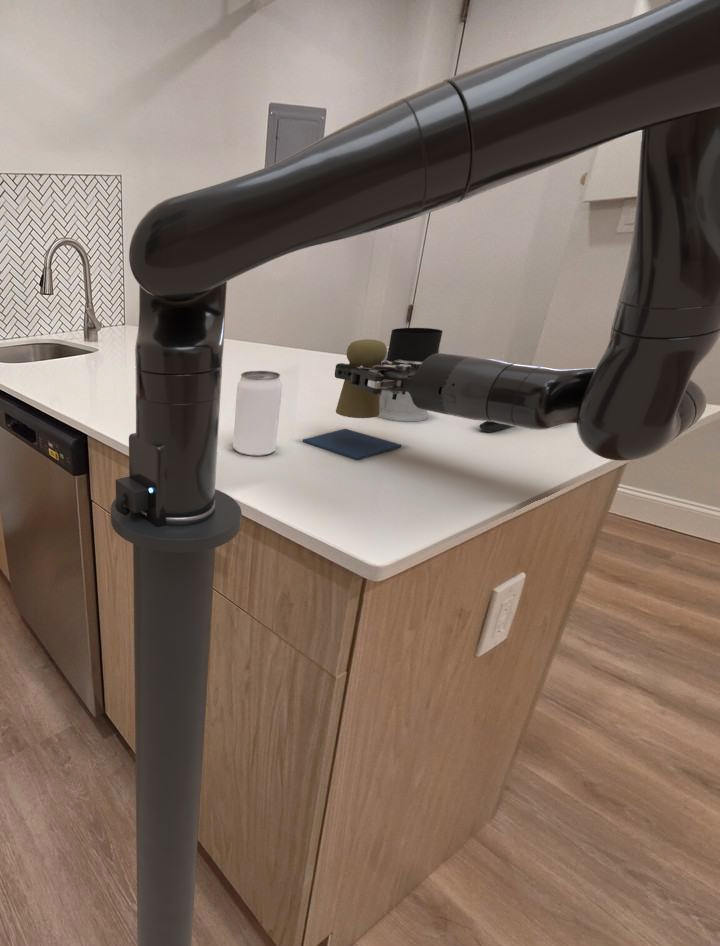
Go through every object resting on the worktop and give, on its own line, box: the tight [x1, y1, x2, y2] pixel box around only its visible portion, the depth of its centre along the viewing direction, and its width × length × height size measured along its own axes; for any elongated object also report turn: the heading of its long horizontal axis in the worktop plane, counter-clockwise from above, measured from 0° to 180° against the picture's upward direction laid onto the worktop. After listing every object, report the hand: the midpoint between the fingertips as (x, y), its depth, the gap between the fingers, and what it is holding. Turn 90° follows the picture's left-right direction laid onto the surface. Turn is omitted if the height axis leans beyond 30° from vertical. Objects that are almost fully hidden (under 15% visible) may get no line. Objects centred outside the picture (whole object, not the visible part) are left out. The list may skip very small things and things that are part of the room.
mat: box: [302, 428, 402, 461], centre depth 83 cm, size 10×10×1 cm
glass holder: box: [377, 327, 443, 422], centre depth 92 cm, size 9×14×15 cm, turn 102°
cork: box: [335, 338, 388, 419], centre depth 78 cm, size 6×6×11 cm
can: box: [232, 370, 283, 457], centre depth 80 cm, size 6×6×12 cm
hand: (347, 368), depth 80 cm, fingers closed on cork, 4 cm apart
